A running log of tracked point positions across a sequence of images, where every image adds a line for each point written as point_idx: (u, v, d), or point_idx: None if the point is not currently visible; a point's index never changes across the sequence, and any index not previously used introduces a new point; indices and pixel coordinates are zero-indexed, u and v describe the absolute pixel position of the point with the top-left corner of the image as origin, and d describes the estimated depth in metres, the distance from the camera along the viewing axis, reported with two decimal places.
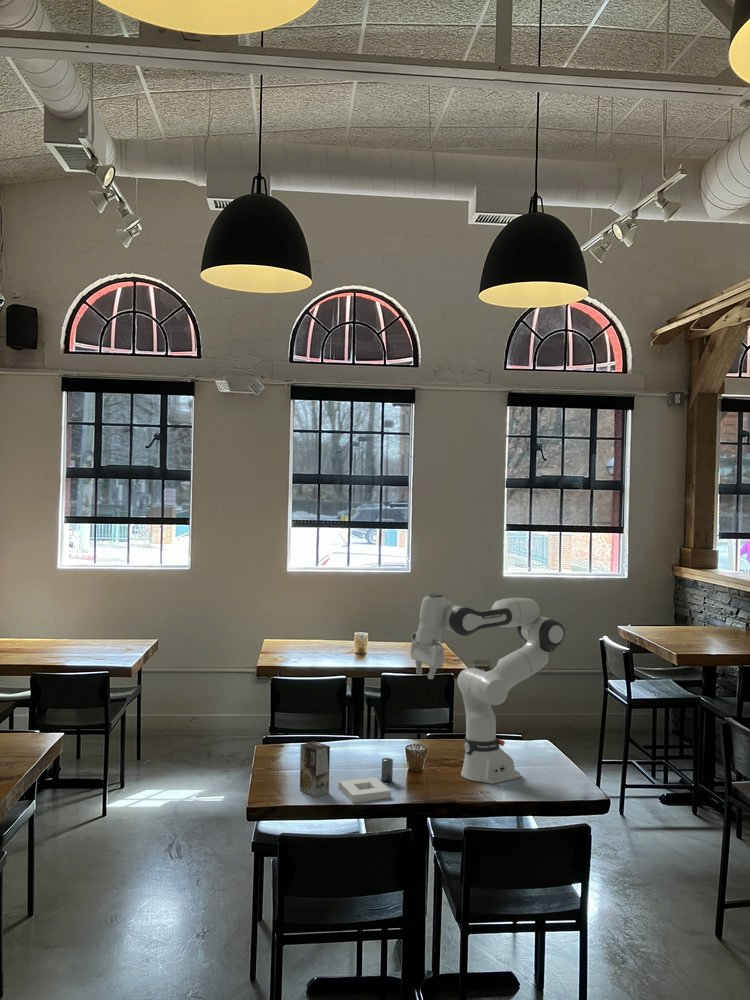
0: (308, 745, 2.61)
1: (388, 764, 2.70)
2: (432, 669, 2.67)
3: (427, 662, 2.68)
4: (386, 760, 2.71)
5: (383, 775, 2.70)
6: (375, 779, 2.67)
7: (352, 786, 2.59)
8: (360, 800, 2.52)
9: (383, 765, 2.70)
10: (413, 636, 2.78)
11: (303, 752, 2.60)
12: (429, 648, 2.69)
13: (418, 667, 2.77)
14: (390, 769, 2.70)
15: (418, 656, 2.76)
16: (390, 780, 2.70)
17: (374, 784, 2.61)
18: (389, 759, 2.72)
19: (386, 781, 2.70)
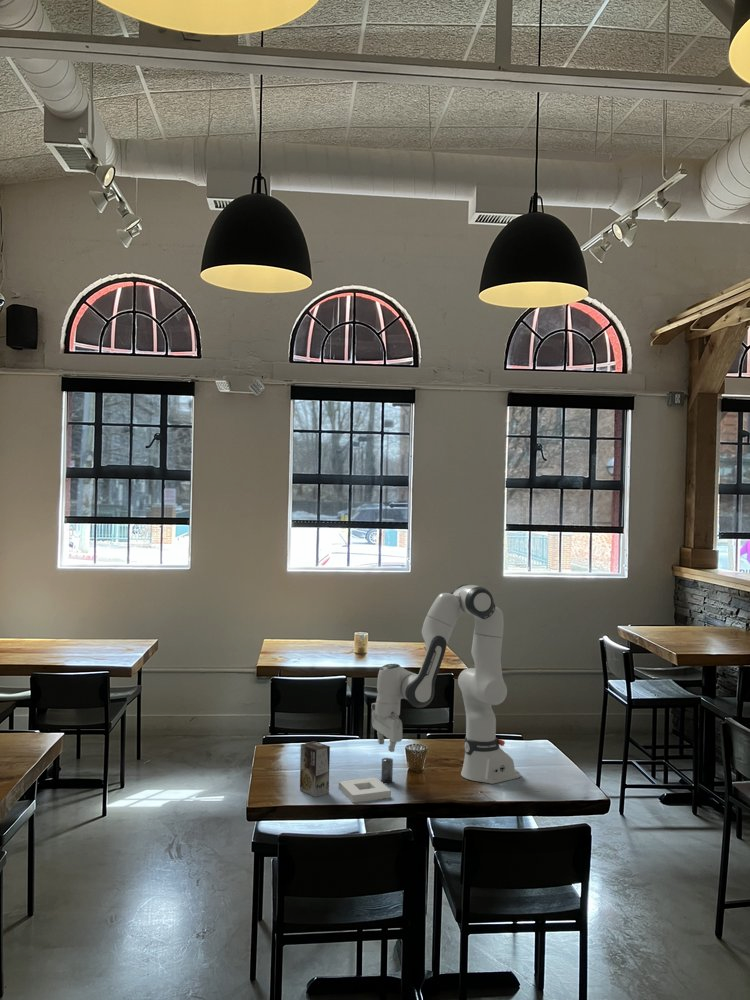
0: (308, 745, 2.61)
1: (388, 764, 2.70)
2: (392, 742, 2.66)
3: (387, 735, 2.67)
4: (386, 760, 2.71)
5: (383, 775, 2.70)
6: (375, 779, 2.67)
7: (352, 786, 2.59)
8: (360, 800, 2.52)
9: (383, 765, 2.70)
10: (373, 706, 2.77)
11: (303, 752, 2.60)
12: (388, 721, 2.67)
13: (380, 737, 2.76)
14: (390, 769, 2.70)
15: (378, 727, 2.75)
16: (390, 780, 2.70)
17: (374, 784, 2.61)
18: (389, 759, 2.72)
19: (386, 781, 2.70)
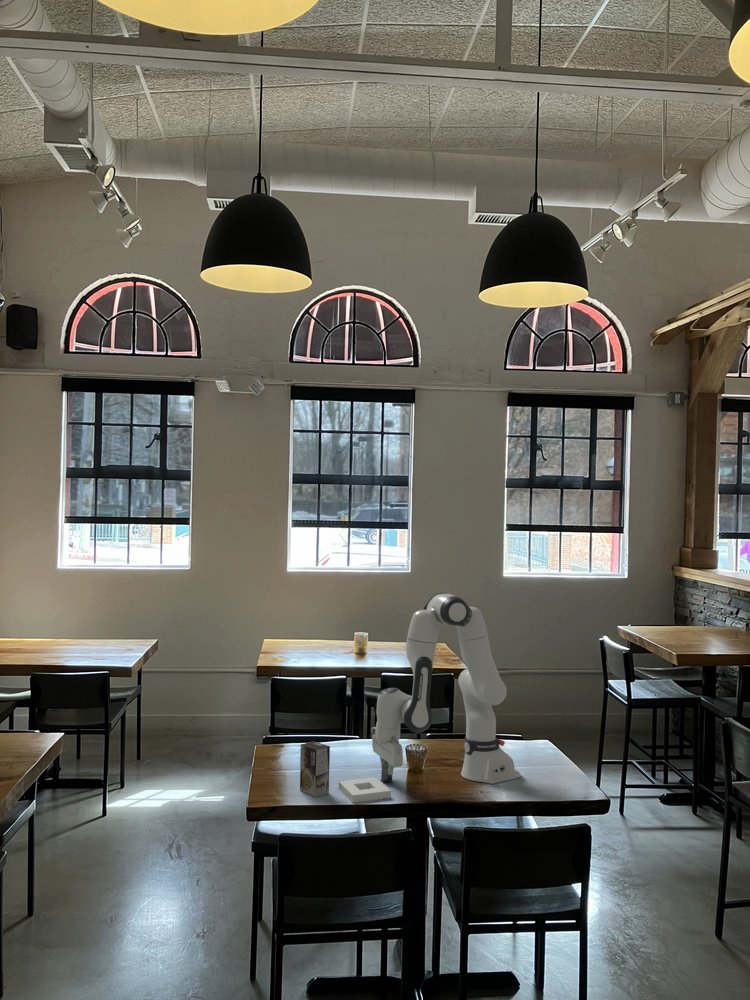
0: (308, 745, 2.61)
1: None
2: (390, 765, 2.67)
3: (387, 760, 2.67)
4: None
5: (383, 775, 2.70)
6: (375, 779, 2.67)
7: (352, 786, 2.59)
8: (360, 800, 2.52)
9: (383, 765, 2.70)
10: (373, 731, 2.77)
11: (303, 752, 2.60)
12: (388, 746, 2.67)
13: None
14: None
15: (379, 751, 2.74)
16: (390, 780, 2.70)
17: (374, 784, 2.61)
18: None
19: (386, 781, 2.70)
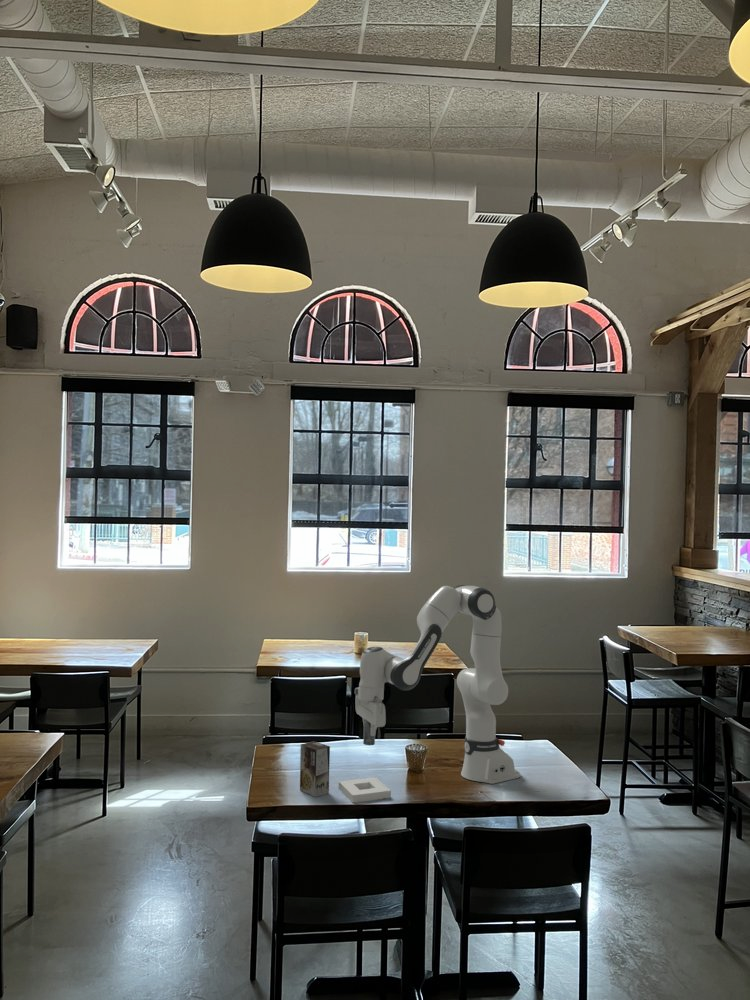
0: (308, 745, 2.61)
1: None
2: (373, 726, 2.59)
3: (370, 720, 2.58)
4: None
5: (365, 736, 2.61)
6: (375, 779, 2.67)
7: (352, 786, 2.59)
8: (360, 800, 2.52)
9: (365, 726, 2.62)
10: (356, 691, 2.68)
11: (303, 752, 2.60)
12: (371, 706, 2.58)
13: None
14: None
15: (362, 712, 2.66)
16: (372, 741, 2.61)
17: (374, 784, 2.61)
18: None
19: (368, 742, 2.61)
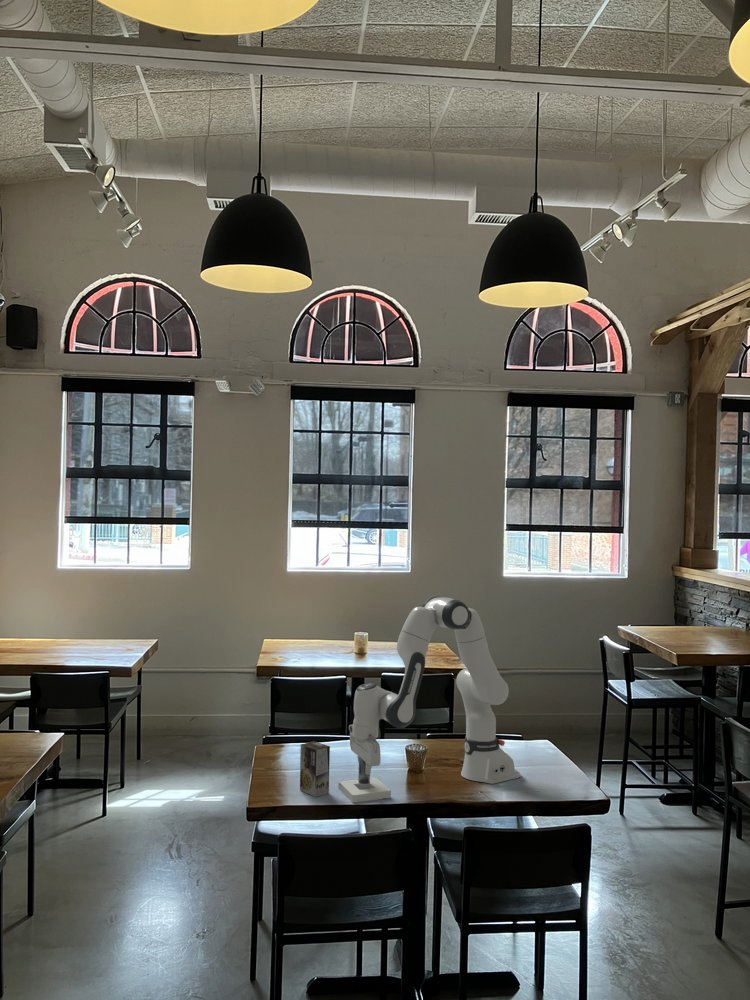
0: (308, 745, 2.61)
1: None
2: (368, 765, 2.56)
3: (364, 759, 2.55)
4: None
5: (360, 775, 2.58)
6: (375, 779, 2.67)
7: (352, 786, 2.59)
8: (360, 800, 2.52)
9: (360, 764, 2.58)
10: (350, 728, 2.65)
11: (303, 752, 2.60)
12: (365, 744, 2.55)
13: None
14: None
15: (356, 750, 2.62)
16: (367, 780, 2.58)
17: (374, 784, 2.61)
18: None
19: (363, 781, 2.58)
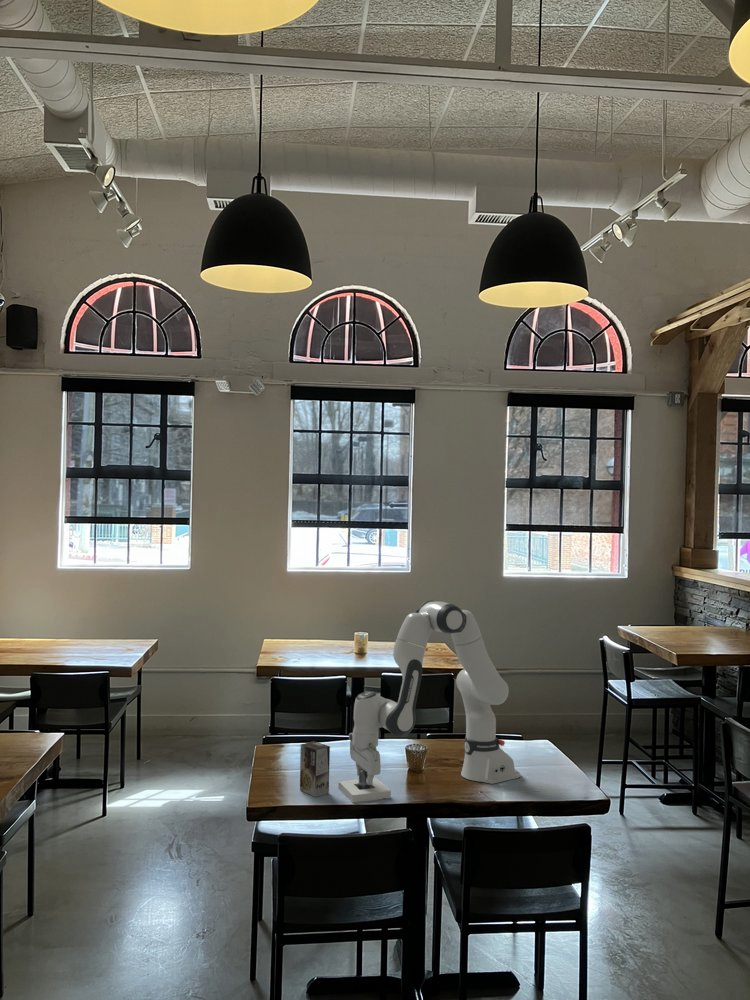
0: (308, 745, 2.61)
1: (366, 774, 2.58)
2: (370, 775, 2.54)
3: (364, 768, 2.55)
4: (364, 770, 2.59)
5: (360, 786, 2.58)
6: (375, 779, 2.67)
7: (352, 786, 2.59)
8: (360, 800, 2.52)
9: (360, 776, 2.58)
10: (350, 737, 2.65)
11: (303, 752, 2.60)
12: (365, 753, 2.55)
13: None
14: None
15: (356, 758, 2.62)
16: None
17: (374, 784, 2.61)
18: None
19: None
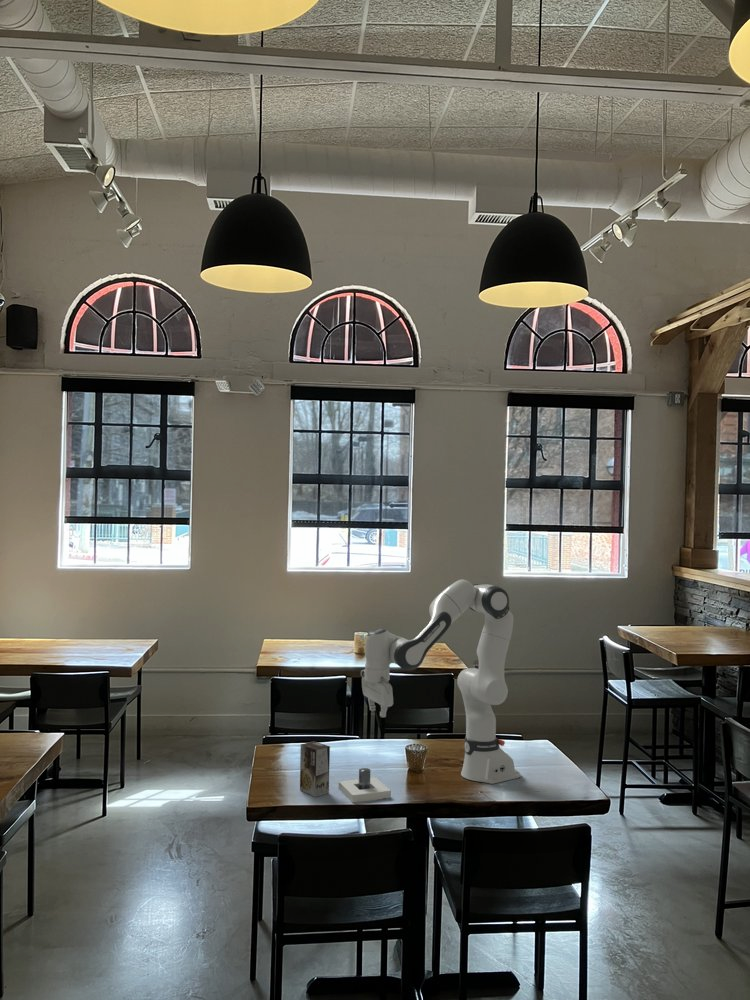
0: (308, 745, 2.61)
1: (366, 774, 2.58)
2: (383, 707, 2.62)
3: (377, 701, 2.64)
4: (364, 770, 2.59)
5: (360, 786, 2.58)
6: (375, 779, 2.67)
7: (352, 786, 2.59)
8: (360, 800, 2.52)
9: (360, 776, 2.58)
10: (362, 673, 2.73)
11: (303, 752, 2.60)
12: (378, 686, 2.63)
13: (371, 704, 2.73)
14: (367, 780, 2.58)
15: (369, 694, 2.71)
16: None
17: (374, 784, 2.61)
18: (367, 769, 2.60)
19: None
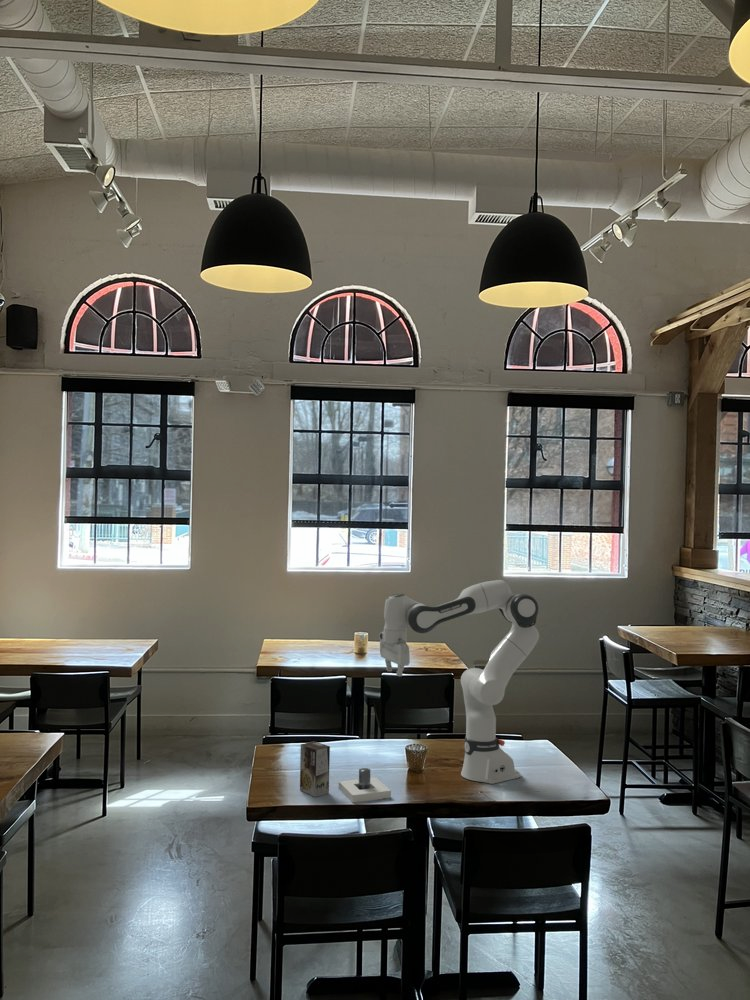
0: (308, 745, 2.61)
1: (366, 774, 2.58)
2: (400, 667, 2.77)
3: (395, 660, 2.79)
4: (364, 770, 2.59)
5: (360, 786, 2.58)
6: (375, 779, 2.67)
7: (352, 786, 2.59)
8: (360, 800, 2.52)
9: (360, 776, 2.58)
10: (380, 636, 2.88)
11: (303, 752, 2.60)
12: (395, 647, 2.79)
13: (388, 665, 2.88)
14: (367, 780, 2.58)
15: (386, 655, 2.86)
16: None
17: (374, 784, 2.61)
18: (367, 769, 2.60)
19: None
